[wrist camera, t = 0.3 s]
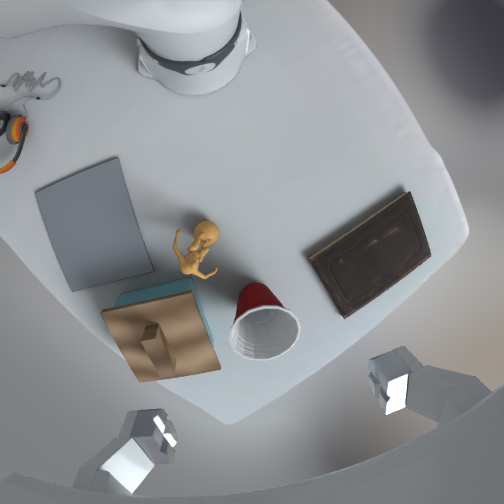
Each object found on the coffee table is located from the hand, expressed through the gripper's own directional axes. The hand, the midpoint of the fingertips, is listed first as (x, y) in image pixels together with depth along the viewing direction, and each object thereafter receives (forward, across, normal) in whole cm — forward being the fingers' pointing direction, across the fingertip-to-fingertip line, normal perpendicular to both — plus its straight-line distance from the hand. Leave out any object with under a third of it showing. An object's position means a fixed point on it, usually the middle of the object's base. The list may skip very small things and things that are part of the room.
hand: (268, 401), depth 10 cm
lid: (+34, +17, +14) cm, 40 cm away
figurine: (+40, +6, 0) cm, 40 cm away
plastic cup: (+41, 0, +14) cm, 43 cm away
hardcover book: (+42, -24, +12) cm, 50 cm away
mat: (+38, +25, -6) cm, 46 cm away
